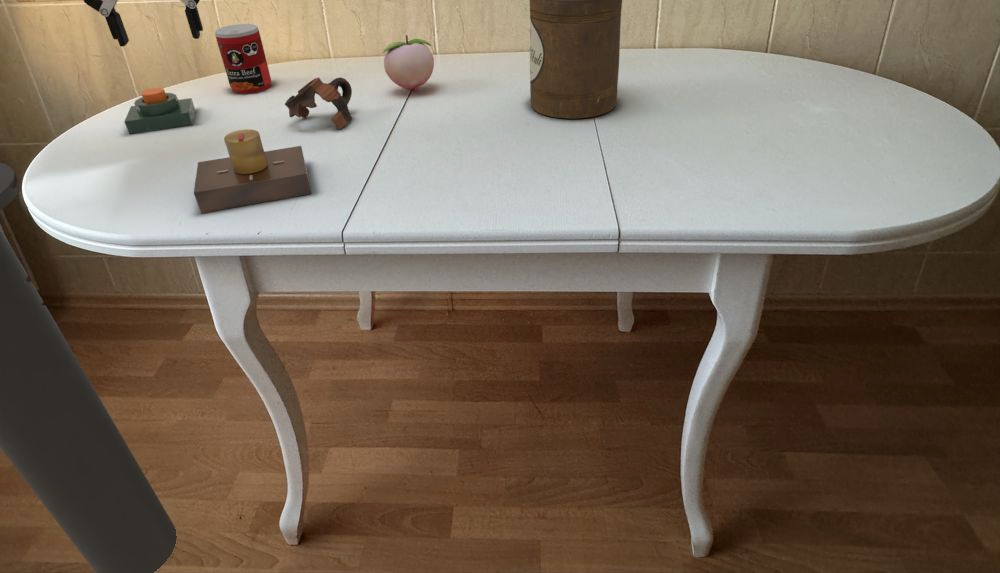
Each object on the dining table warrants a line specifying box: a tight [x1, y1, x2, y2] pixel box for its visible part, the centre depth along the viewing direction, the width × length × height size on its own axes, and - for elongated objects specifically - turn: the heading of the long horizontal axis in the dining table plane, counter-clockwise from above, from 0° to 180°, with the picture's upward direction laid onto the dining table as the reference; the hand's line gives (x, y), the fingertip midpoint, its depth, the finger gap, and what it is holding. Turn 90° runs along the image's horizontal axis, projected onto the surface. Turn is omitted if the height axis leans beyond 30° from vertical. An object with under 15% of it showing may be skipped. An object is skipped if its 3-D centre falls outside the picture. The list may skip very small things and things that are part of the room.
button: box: [140, 87, 167, 103], centre depth 106 cm, size 4×4×2 cm
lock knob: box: [223, 128, 268, 174], centre depth 82 cm, size 4×4×5 cm
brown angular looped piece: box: [284, 77, 353, 130], centre depth 104 cm, size 12×10×8 cm
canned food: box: [214, 23, 272, 95], centre depth 119 cm, size 8×8×11 cm
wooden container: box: [529, 0, 623, 120], centre depth 101 cm, size 15×15×22 cm
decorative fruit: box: [382, 34, 435, 92], centre depth 114 cm, size 9×8×10 cm
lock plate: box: [193, 145, 312, 214], centre depth 85 cm, size 14×10×3 cm
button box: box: [124, 92, 196, 135], centre depth 107 cm, size 10×8×4 cm
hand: (161, 40), depth 89 cm, fingers open, 9 cm apart
